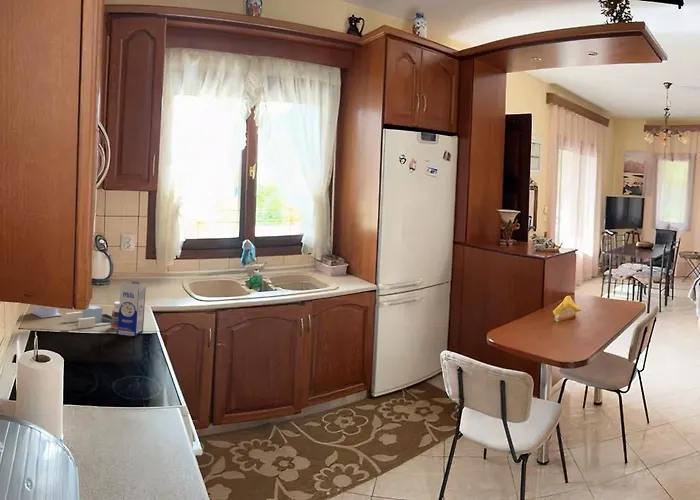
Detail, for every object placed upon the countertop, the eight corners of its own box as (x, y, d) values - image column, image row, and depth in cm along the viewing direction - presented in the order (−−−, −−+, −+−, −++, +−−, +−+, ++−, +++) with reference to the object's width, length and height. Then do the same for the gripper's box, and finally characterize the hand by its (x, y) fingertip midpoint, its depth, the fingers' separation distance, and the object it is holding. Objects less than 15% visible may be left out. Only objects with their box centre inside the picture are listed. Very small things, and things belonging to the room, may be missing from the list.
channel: (65, 321, 226) (65, 313, 225) (96, 318, 235) (96, 310, 235) (79, 328, 219) (79, 319, 218) (110, 324, 228) (111, 315, 228)
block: (82, 322, 228) (82, 307, 227) (91, 320, 233) (92, 305, 232) (92, 324, 226) (92, 309, 226) (101, 322, 231) (102, 307, 230)
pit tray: (96, 318, 235) (97, 314, 235) (106, 317, 238) (106, 313, 238) (110, 324, 229) (110, 320, 228) (119, 323, 232) (120, 319, 232)
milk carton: (117, 334, 215) (120, 281, 213) (125, 330, 222) (128, 279, 220) (135, 337, 215) (138, 283, 213) (143, 332, 222) (146, 281, 220)
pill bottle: (107, 327, 224) (109, 302, 223) (117, 325, 229) (119, 300, 228) (120, 330, 222) (121, 304, 221) (130, 327, 227) (131, 302, 226)
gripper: (51, 266, 212) (49, 302, 213) (90, 264, 223) (88, 299, 225) (42, 263, 216) (41, 298, 218) (81, 261, 228) (79, 295, 229)
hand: (64, 298), depth 222 cm, fingers closed
